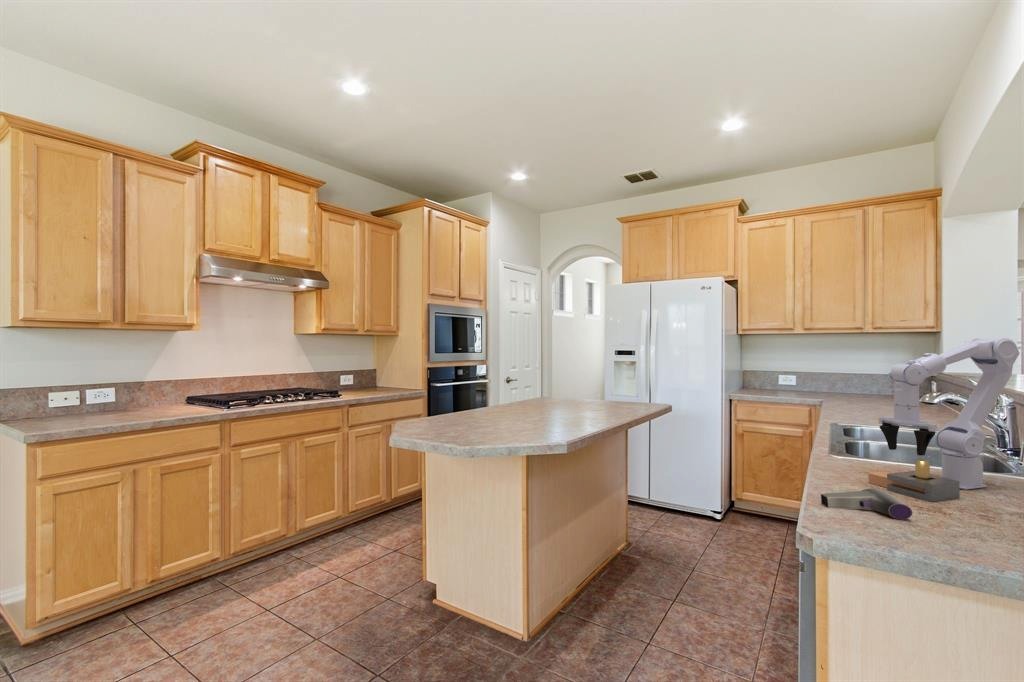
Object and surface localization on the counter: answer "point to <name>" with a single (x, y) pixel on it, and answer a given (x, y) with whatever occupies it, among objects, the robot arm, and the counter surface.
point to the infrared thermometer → (868, 502)
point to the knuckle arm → (888, 481)
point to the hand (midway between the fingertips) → (906, 452)
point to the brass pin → (922, 469)
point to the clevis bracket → (925, 486)
